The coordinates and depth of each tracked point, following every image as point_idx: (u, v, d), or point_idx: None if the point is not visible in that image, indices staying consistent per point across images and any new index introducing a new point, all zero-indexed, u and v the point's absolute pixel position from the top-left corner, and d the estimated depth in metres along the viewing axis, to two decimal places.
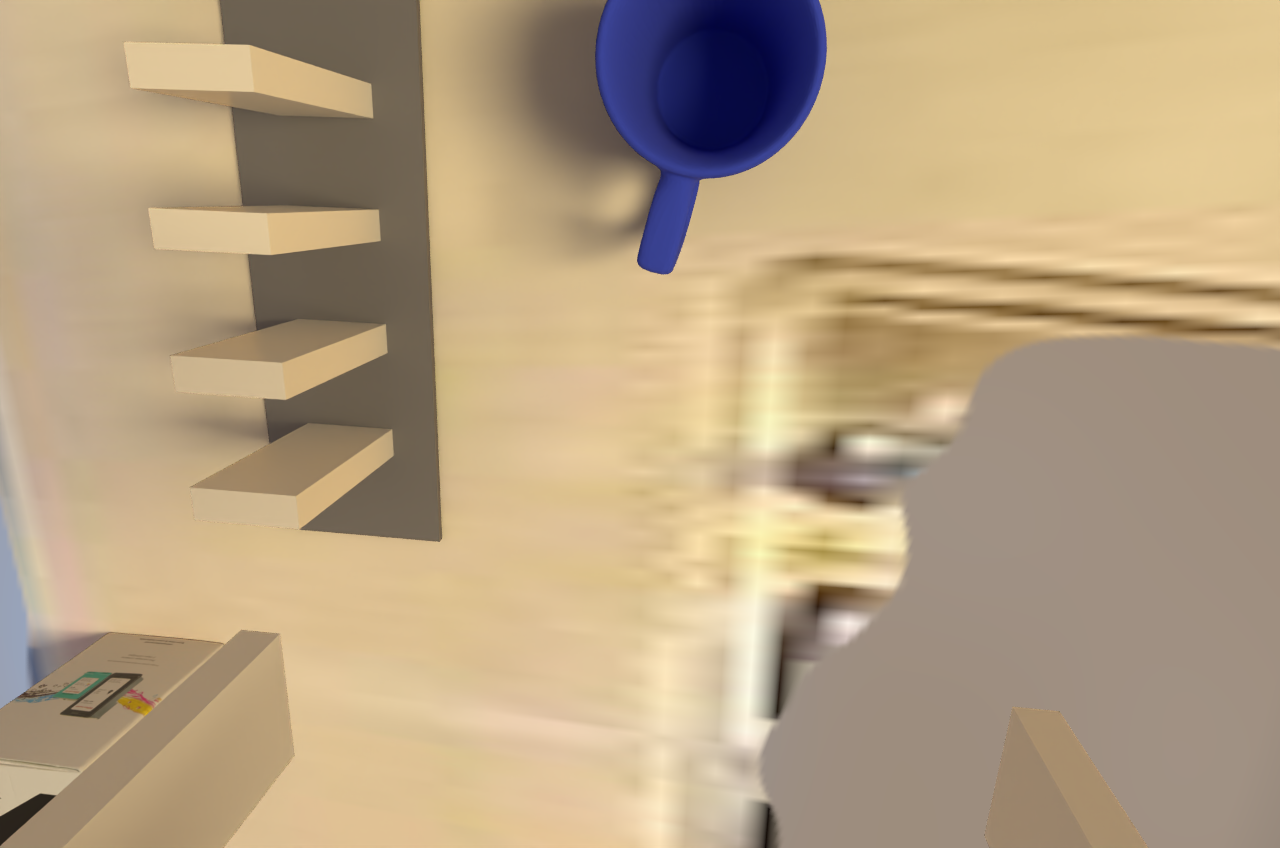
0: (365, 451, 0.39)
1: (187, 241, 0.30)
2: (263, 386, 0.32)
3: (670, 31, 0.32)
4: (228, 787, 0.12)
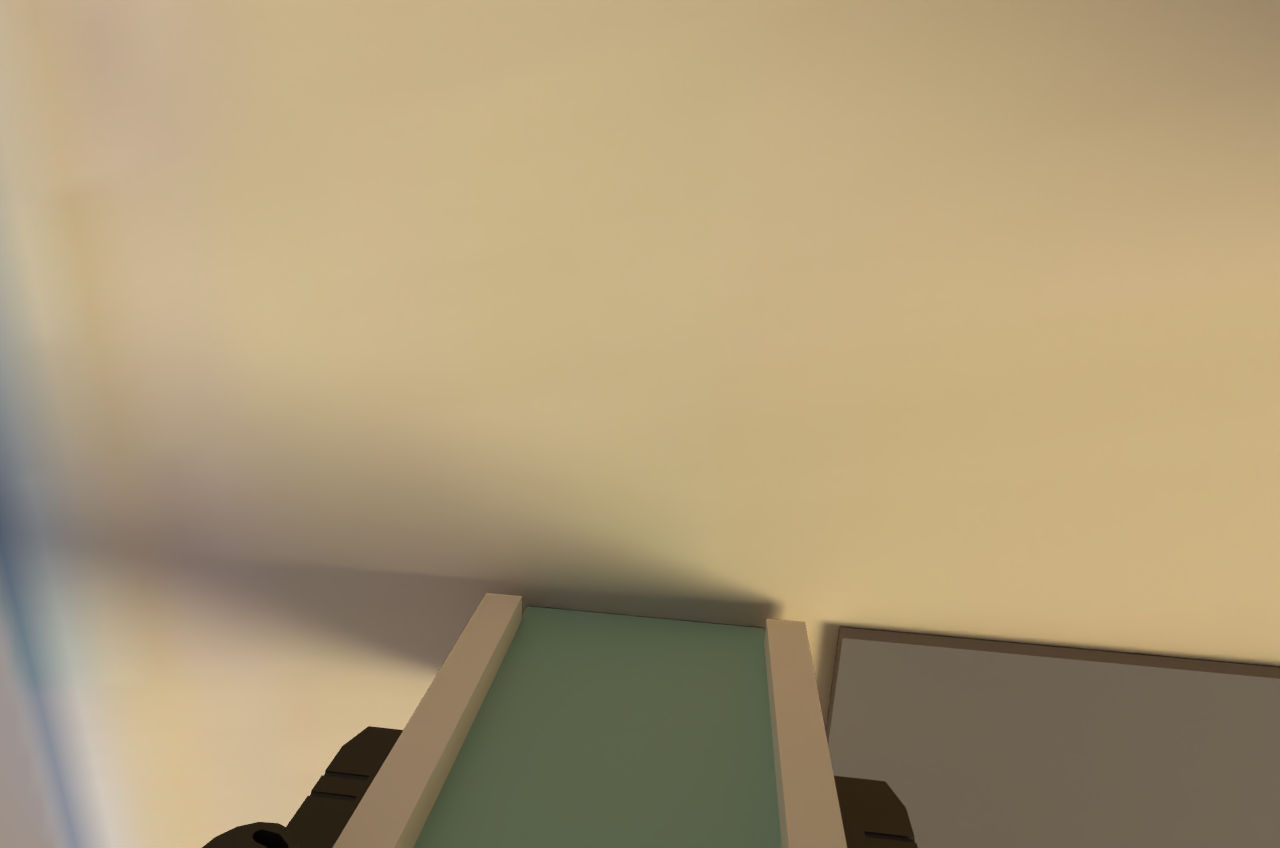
0: None
1: None
2: None
3: None
4: None
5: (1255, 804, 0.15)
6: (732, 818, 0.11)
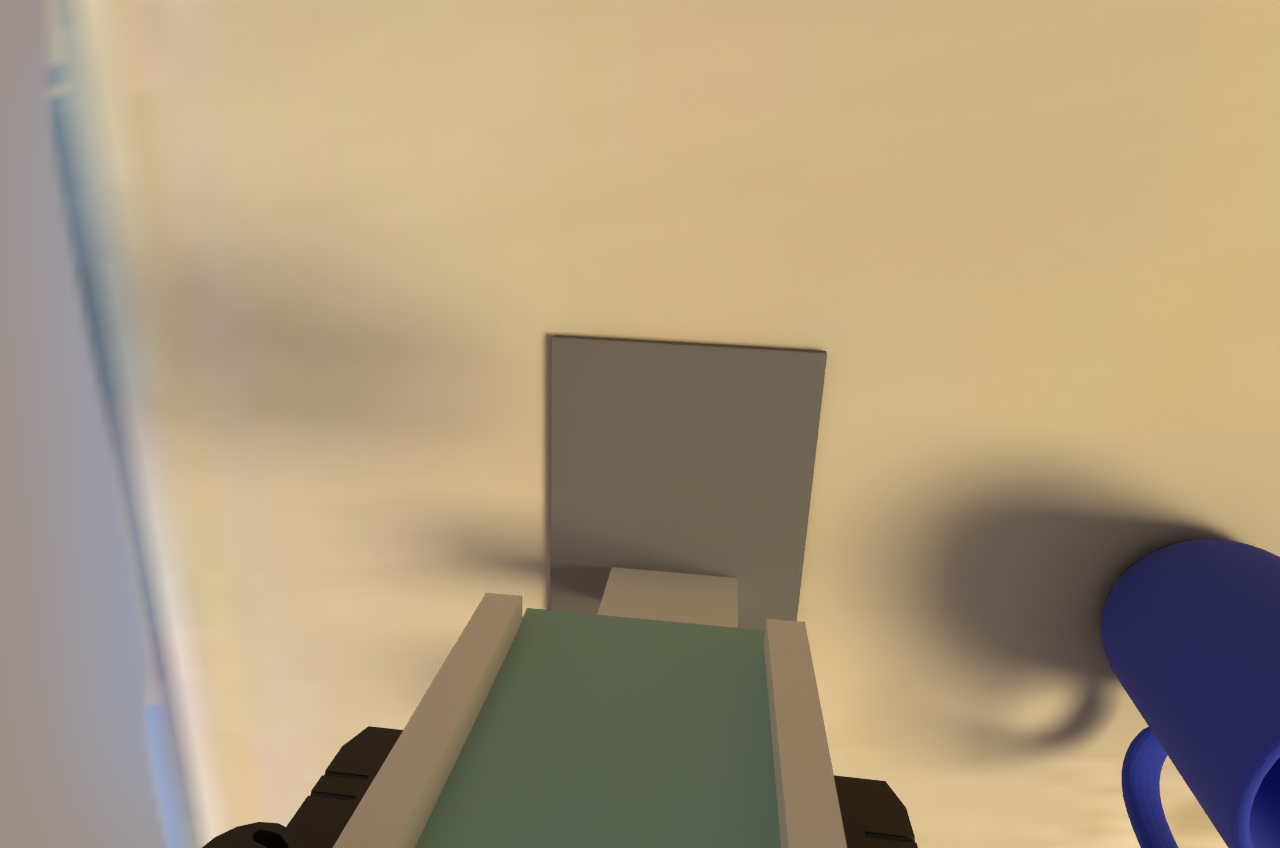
0: None
1: None
2: None
3: None
4: None
5: (774, 427, 0.28)
6: (731, 821, 0.11)
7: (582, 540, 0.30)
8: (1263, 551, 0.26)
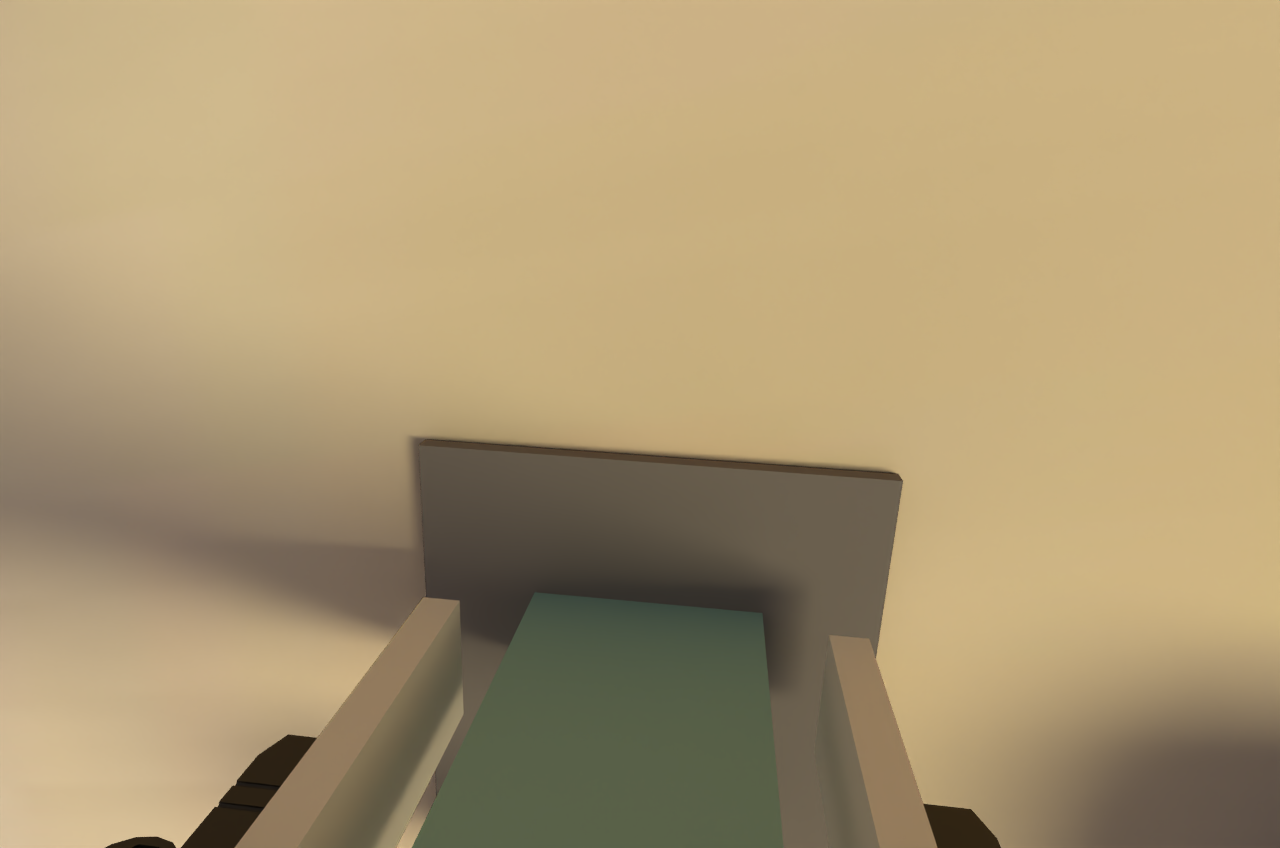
0: None
1: None
2: None
3: None
4: (428, 736, 0.14)
5: (806, 602, 0.16)
6: (731, 785, 0.11)
7: None
8: None
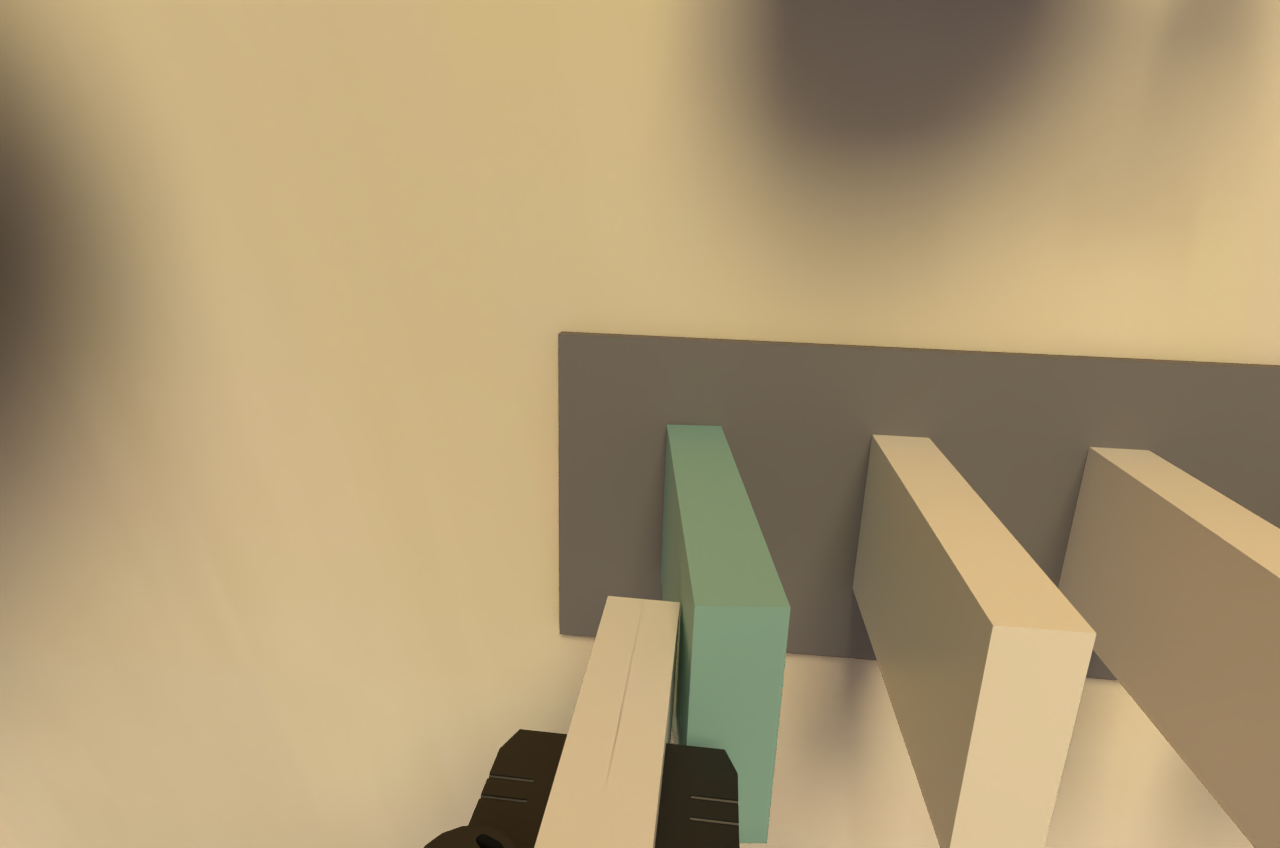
0: None
1: None
2: None
3: None
4: None
5: (656, 392, 0.22)
6: (675, 519, 0.17)
7: (813, 619, 0.24)
8: None
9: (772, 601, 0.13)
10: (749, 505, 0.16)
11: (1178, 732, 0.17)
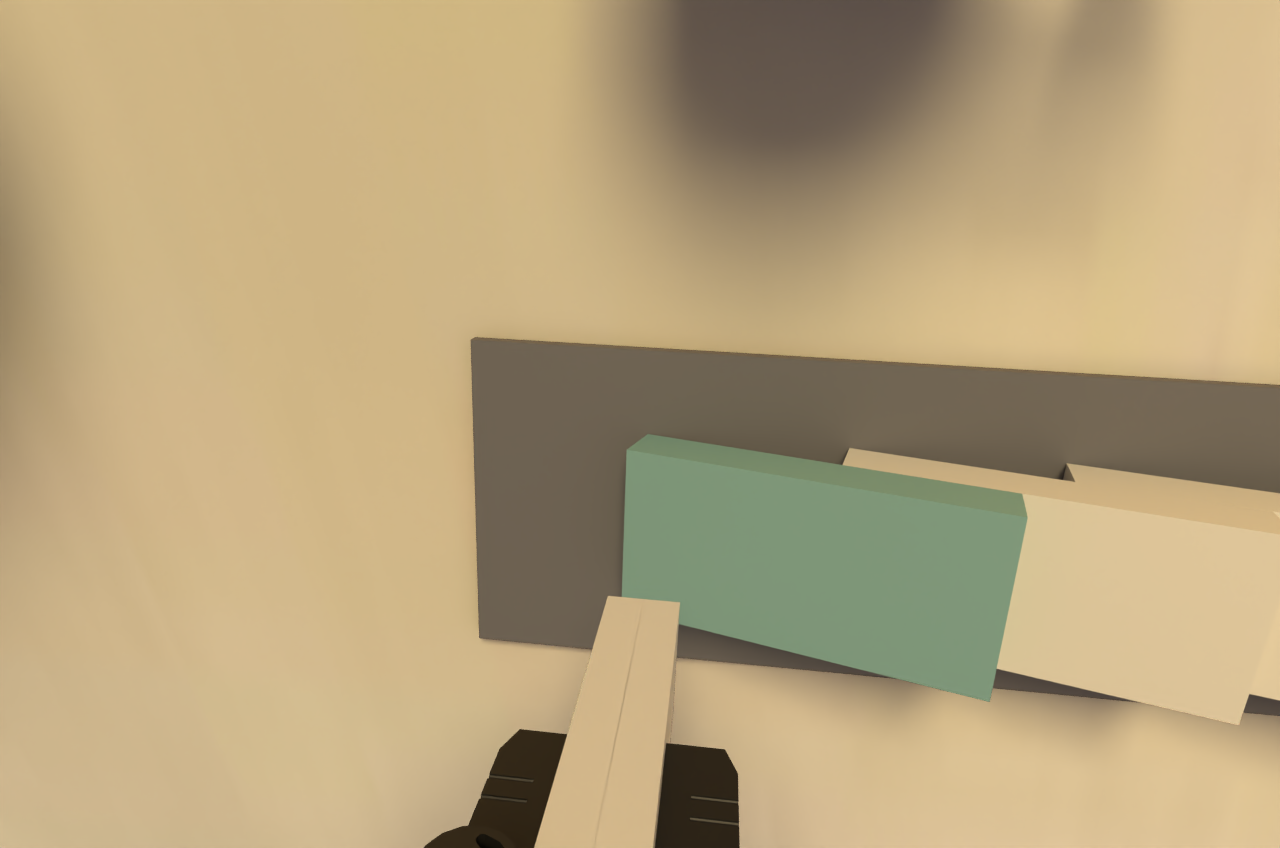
0: None
1: None
2: None
3: None
4: None
5: (567, 398, 0.22)
6: (808, 506, 0.19)
7: None
8: None
9: (1013, 496, 0.18)
10: (849, 466, 0.20)
11: None
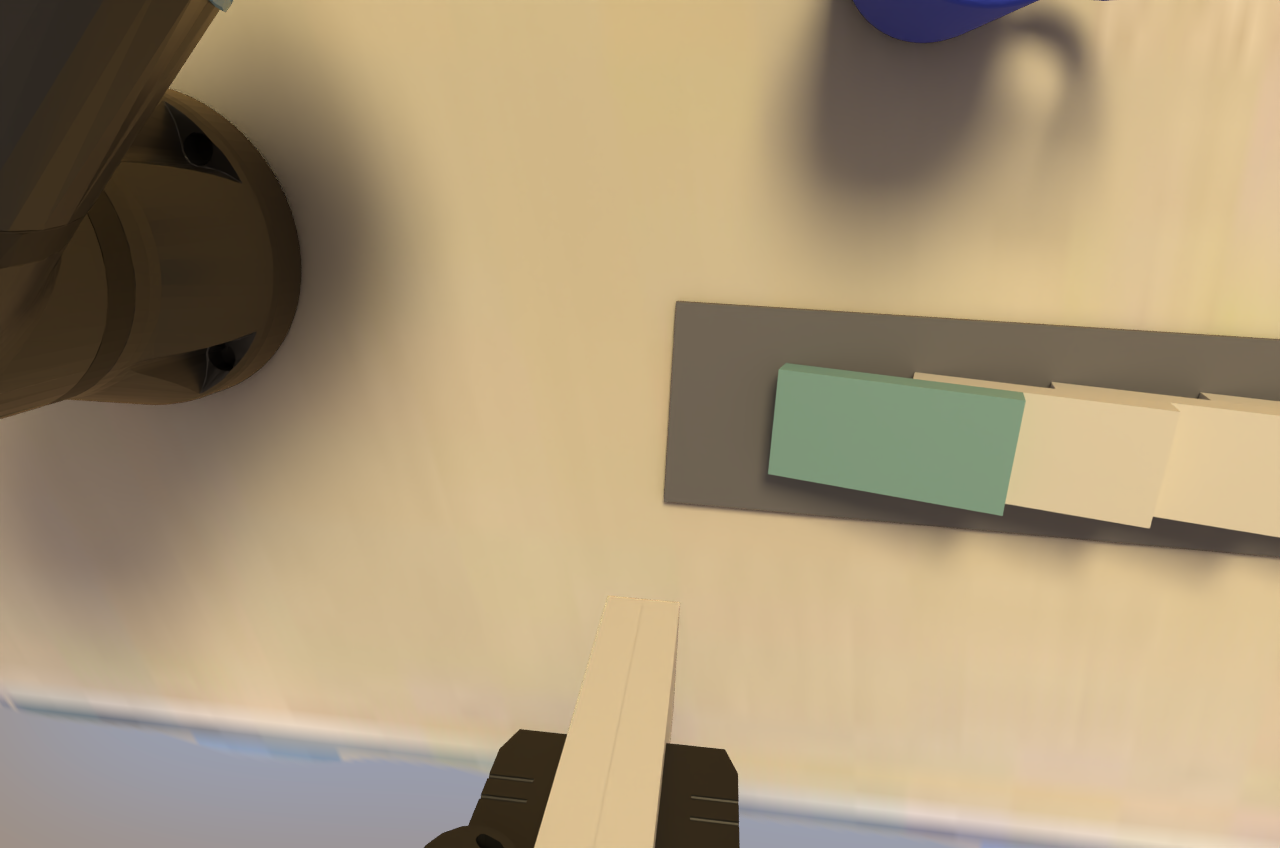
0: None
1: None
2: None
3: None
4: None
5: (736, 340, 0.35)
6: (894, 400, 0.32)
7: (831, 491, 0.36)
8: None
9: (1017, 393, 0.31)
10: (917, 379, 0.33)
11: (1198, 514, 0.31)
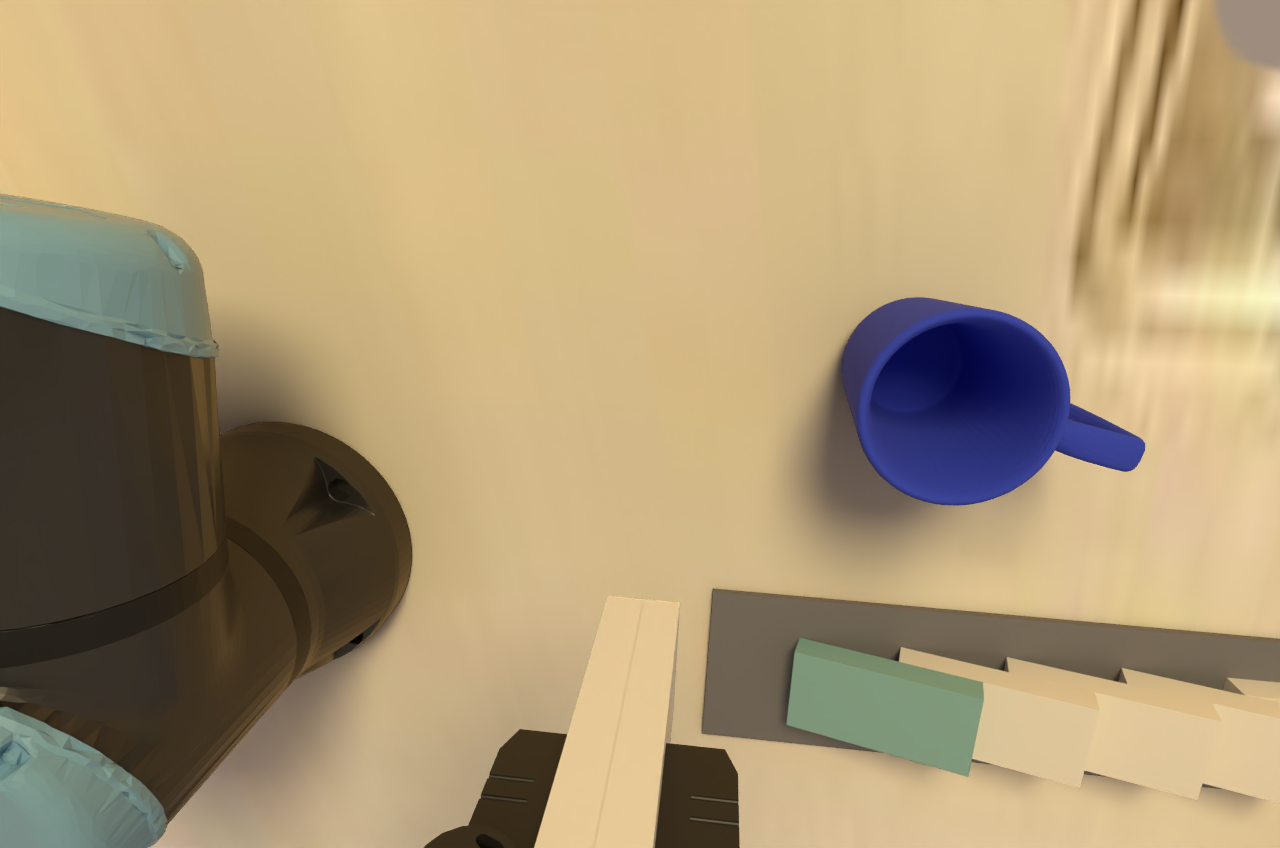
0: None
1: None
2: None
3: (872, 409, 0.37)
4: None
5: (760, 620, 0.44)
6: (884, 686, 0.41)
7: None
8: (845, 350, 0.38)
9: (979, 684, 0.41)
10: None
11: (1117, 772, 0.41)
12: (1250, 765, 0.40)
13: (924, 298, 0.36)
